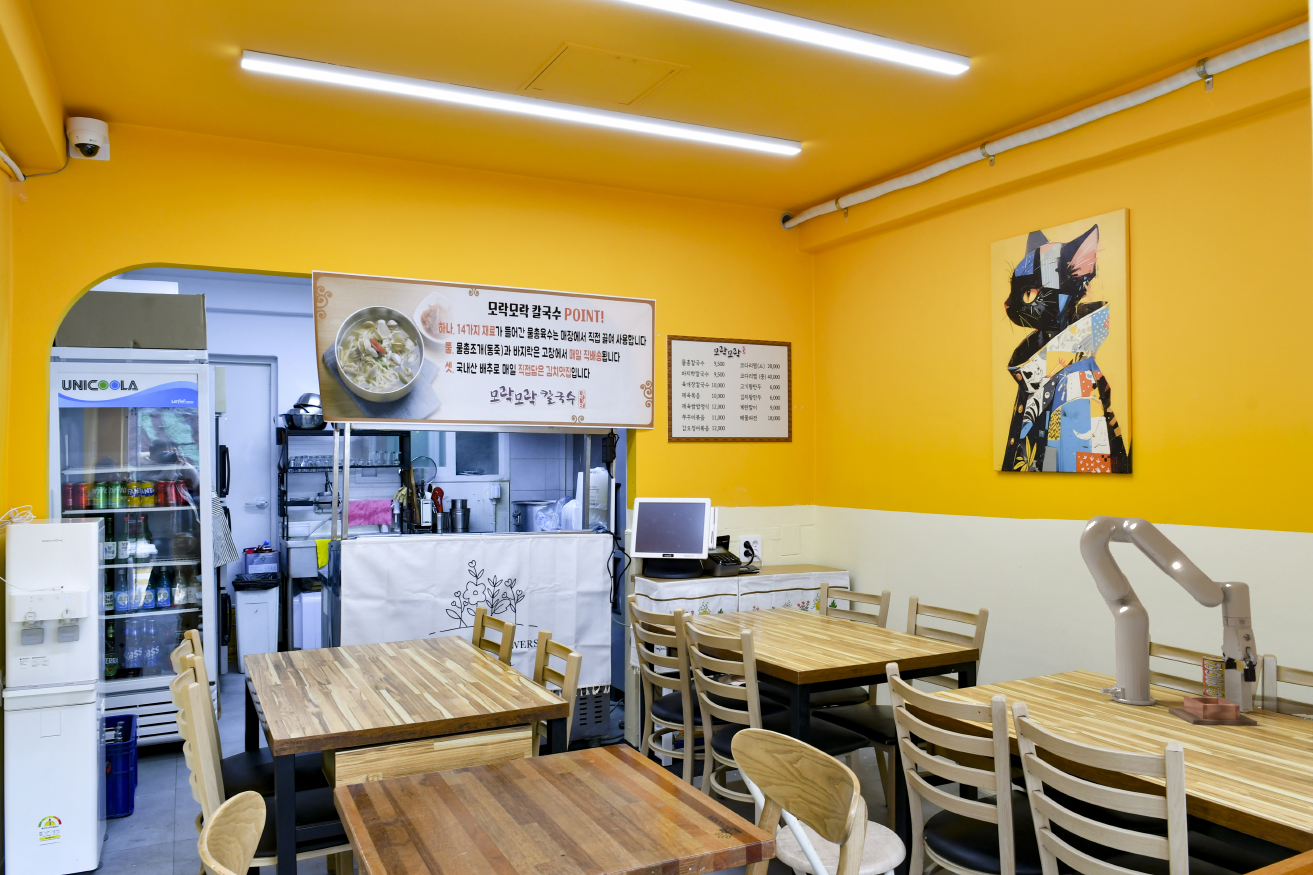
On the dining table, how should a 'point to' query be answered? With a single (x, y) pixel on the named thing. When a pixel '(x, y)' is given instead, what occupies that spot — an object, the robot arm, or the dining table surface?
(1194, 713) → the caddy
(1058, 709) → the dining table surface
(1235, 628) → the robot arm
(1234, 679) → the skincare box
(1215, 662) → the beverage can
